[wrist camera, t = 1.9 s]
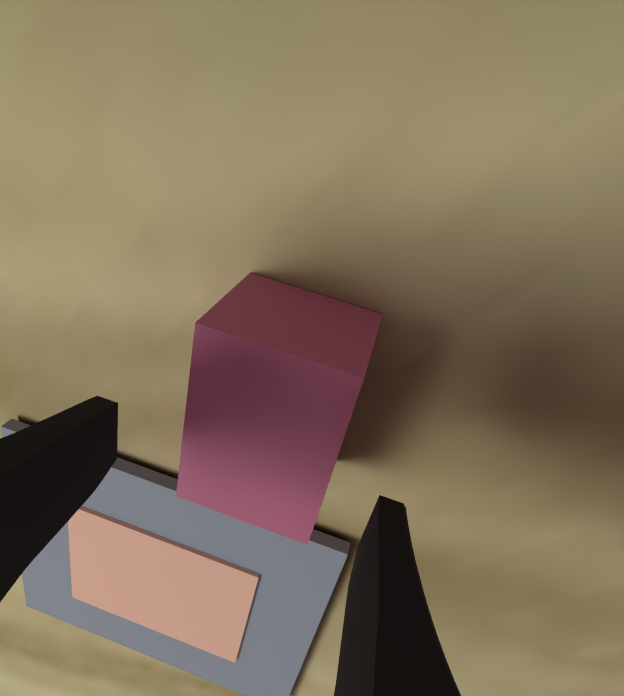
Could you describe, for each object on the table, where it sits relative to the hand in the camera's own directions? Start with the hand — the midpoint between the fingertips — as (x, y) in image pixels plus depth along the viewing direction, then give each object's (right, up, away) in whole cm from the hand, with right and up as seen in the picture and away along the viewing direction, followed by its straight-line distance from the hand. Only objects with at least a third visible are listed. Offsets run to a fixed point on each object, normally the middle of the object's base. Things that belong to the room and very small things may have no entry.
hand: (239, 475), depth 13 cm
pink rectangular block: (+1, +2, +5) cm, 5 cm away
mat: (-6, -8, +12) cm, 16 cm away
